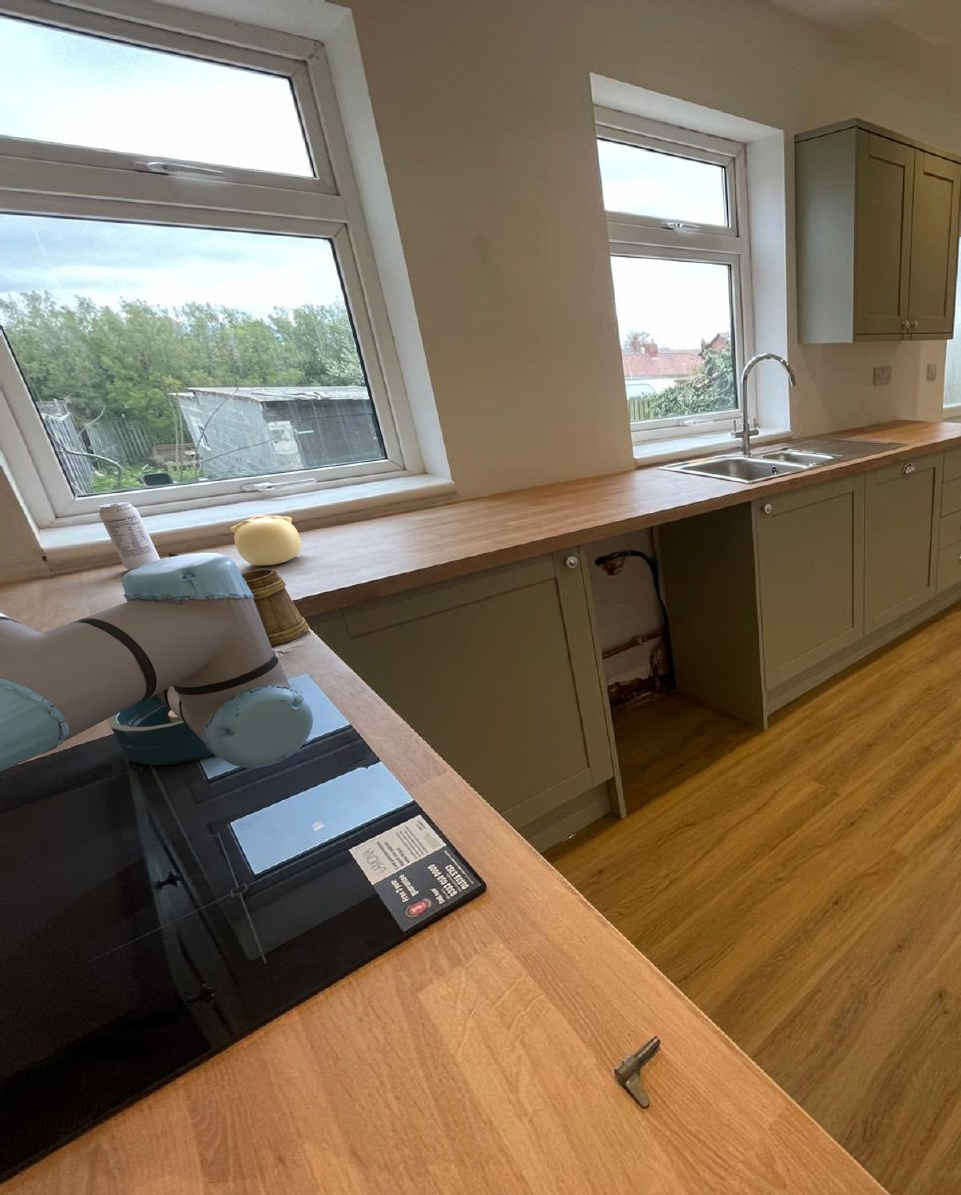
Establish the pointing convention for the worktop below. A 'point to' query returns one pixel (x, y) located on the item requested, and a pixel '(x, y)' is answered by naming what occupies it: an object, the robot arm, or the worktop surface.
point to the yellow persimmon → (267, 540)
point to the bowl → (155, 735)
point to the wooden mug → (274, 606)
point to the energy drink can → (128, 534)
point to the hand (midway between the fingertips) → (153, 636)
